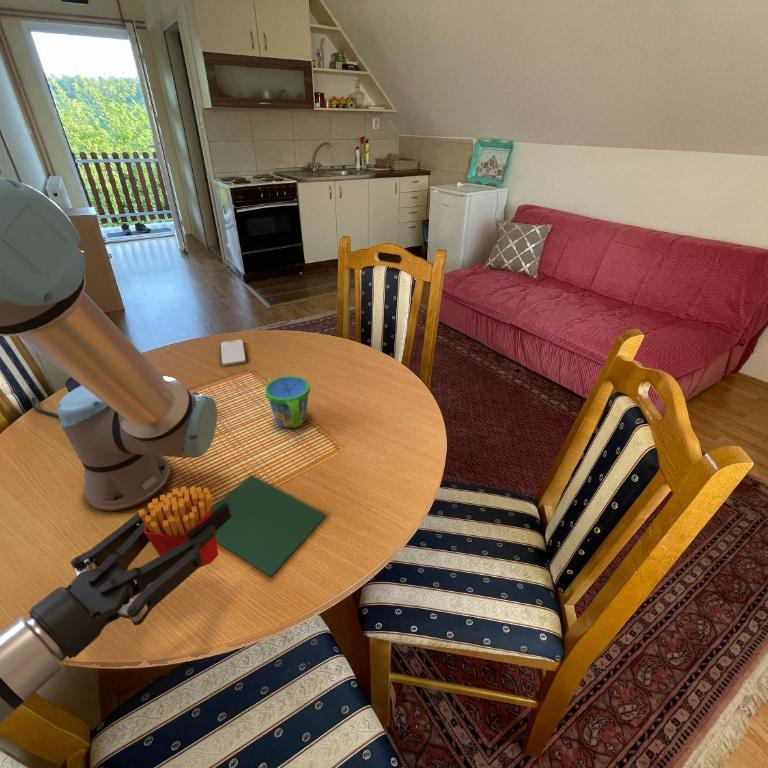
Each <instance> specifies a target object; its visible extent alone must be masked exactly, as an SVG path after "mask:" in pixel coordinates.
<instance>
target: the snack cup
mask: <svg viewBox="0 0 768 768" xmlns="http://www.w3.org/2000/svg"><path fill="white" fill-rule="evenodd" d="M310 393H311V388H310V383H309V381H307V380H306V379H305V378H303V377H301V376H297V375H286V376H279V377H277V378H275V379H272V380H271V381H270V382H268V383H267V385H266V386H265V388H264V394H265V397H266V398H267V400H268V402H269V405H270V408H271V410H272V414H273V416H274V419H275V422H276V424H278V425H279V426H280V427H281V428H286V429H291V428H292V429H295V428H297V427H300V426H301V425H302V424H304V423H305V422H306V420H307V415H308V403H309V395H310Z"/></svg>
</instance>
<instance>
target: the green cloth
mask: <svg viewBox="0 0 768 768" xmlns="http://www.w3.org/2000/svg"><path fill="white" fill-rule="evenodd" d="M224 503H225V504H227V505H228V507H229V510H230V514H231V518H230V519H229V520H228V521H227V522H226V523H224V524H223V525H222V526H221V527H220V528H219V529H218V530H217V531H216V532H217V534H216V543H217V544H219V545H220V546H222V547H223V548H224V549H226V550H228V551H229V552H231V553H233V554H234V555H236V556H237V557H238V558H240V559H241V560H243V561H245V562H246V563H248V564H249V565H251V566H252V567H254V568H255V569H257V570H258V571H260V572H262V573H263V574H264V575H266V576H267V577H269V578H272V577H273V576H274V575H275V573H277V572H278V570H279V569H280V568H281V567H282V566H283V565H284V564H285V563H286V561H287V560H288V559H289V558H290V557H291V556H292V555H293V554H294V552H296V550H297V549H298V548H299V547H300V546H301V545H302V544H303V542H304V541H305V540H306V539H307V538H308V537H309V536H310V535H311V534H312V533H313V531H314V530H315V529H316V528H317V527H318V526H319V524H320V523H322V522H323V520H324V519H325V518H326V517H327V515H326V514H325V513H324V512H321V511H320V510H318V509H316V508H314V507H312V506H309V505H308V504H306V503H304V502H302V501H300V500H298V499H296V498H295V497H292V496H291V495H289V494H287V493H285V492H283V491H281V490H279V489H277V488H275V486H272V485H270V484H268V483H267V482H264V481H262V480H260V479H259V478H256V477H255V476H253V475H250V476H249V477H248V478H247V479H245V480H244V481H243V482H241V484H239V485H238V486H237V487H236V488H235V489H233V490H232V491H231V492H230V493H228V494H227V495H226V496H225V497H223V498H222V499H221V500H220V501H218V502H217V503H216V504H215V505H214V506H212V507H211V509H212V513H213V512H215V511H216V510H217V509H218V508H219V507H220V506H222V505H223V504H224Z"/></svg>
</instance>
